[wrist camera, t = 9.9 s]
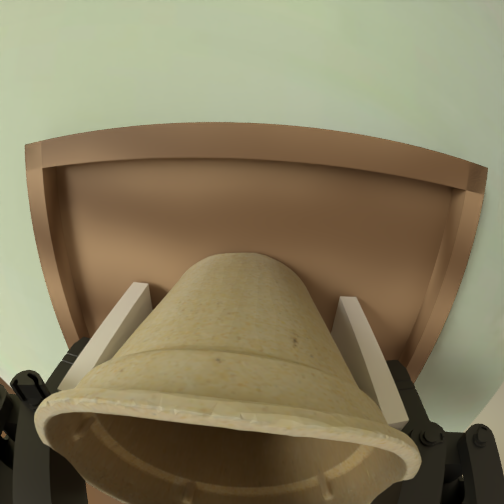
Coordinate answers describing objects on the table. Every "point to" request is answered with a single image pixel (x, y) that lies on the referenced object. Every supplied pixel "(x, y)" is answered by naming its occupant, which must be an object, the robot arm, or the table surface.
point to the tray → (256, 219)
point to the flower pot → (228, 402)
